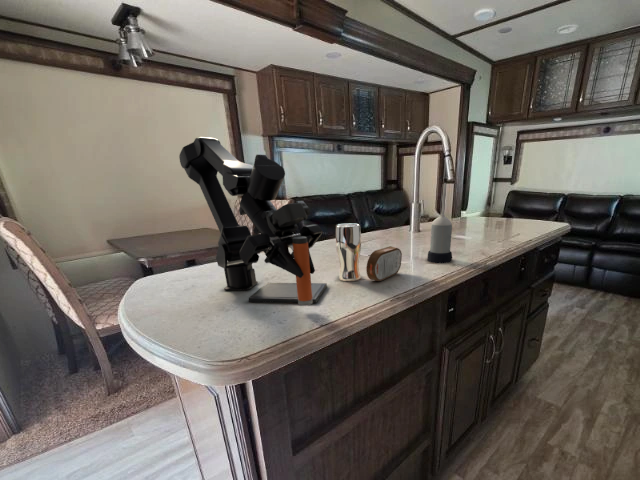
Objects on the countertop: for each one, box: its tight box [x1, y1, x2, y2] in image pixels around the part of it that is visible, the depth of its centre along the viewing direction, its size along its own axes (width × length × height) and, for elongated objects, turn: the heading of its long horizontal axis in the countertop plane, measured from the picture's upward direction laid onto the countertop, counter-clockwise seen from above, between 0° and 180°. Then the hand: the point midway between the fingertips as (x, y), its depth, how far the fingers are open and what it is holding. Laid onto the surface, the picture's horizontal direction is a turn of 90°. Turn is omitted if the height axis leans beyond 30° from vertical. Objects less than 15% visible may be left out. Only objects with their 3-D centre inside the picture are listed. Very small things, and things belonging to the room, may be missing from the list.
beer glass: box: [335, 222, 362, 282], centre depth 88 cm, size 7×7×15 cm
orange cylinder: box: [292, 236, 314, 307], centre depth 65 cm, size 3×3×14 cm
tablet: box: [248, 282, 328, 304], centre depth 78 cm, size 16×12×1 cm
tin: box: [365, 245, 403, 282], centre depth 89 cm, size 15×3×8 cm, turn 144°
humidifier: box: [427, 182, 453, 264], centre depth 104 cm, size 8×8×25 cm
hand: (307, 274), depth 64 cm, fingers closed on orange cylinder, 3 cm apart
